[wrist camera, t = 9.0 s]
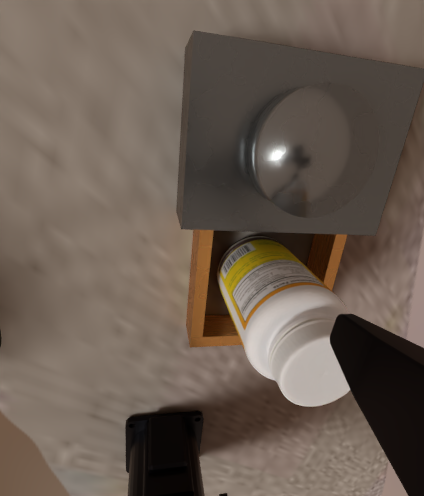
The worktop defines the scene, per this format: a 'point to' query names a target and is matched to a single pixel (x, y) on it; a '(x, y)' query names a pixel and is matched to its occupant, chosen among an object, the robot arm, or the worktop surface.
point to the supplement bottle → (283, 319)
